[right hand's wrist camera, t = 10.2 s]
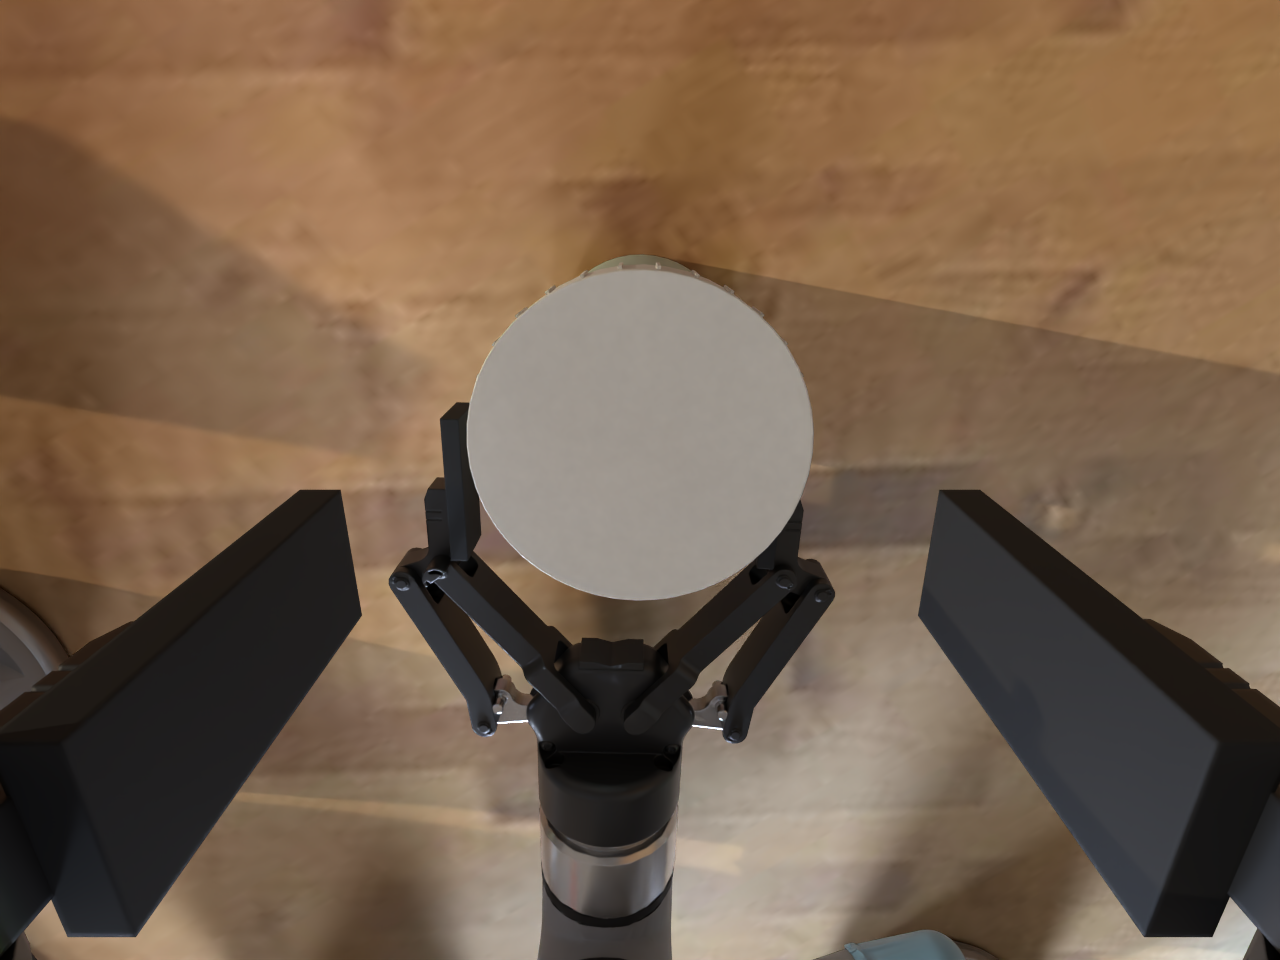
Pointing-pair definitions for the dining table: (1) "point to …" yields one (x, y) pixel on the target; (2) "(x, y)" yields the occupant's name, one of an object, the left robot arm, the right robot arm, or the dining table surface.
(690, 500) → the lid
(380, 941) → the dining table surface
